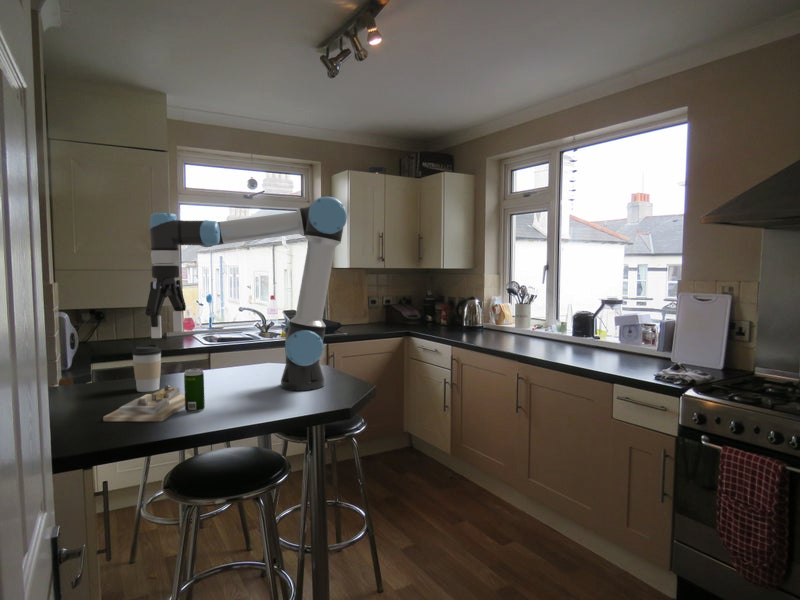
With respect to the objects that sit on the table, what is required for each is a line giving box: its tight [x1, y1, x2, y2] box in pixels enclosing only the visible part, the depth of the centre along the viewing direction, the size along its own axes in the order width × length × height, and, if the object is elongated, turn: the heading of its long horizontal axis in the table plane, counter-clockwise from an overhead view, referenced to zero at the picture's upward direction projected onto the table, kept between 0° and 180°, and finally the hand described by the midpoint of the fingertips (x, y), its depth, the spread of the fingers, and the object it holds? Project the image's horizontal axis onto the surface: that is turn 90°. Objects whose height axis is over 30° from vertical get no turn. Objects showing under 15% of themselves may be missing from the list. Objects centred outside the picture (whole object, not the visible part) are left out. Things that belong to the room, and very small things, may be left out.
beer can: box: [183, 368, 206, 414], centre depth 148 cm, size 5×5×12 cm
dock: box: [102, 387, 185, 422], centre depth 150 cm, size 16×24×3 cm, turn 0°
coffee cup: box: [131, 344, 162, 393], centre depth 173 cm, size 9×9×15 cm
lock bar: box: [156, 384, 176, 401], centre depth 158 cm, size 2×8×3 cm, turn 0°
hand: (167, 334), depth 155 cm, fingers open, 13 cm apart
